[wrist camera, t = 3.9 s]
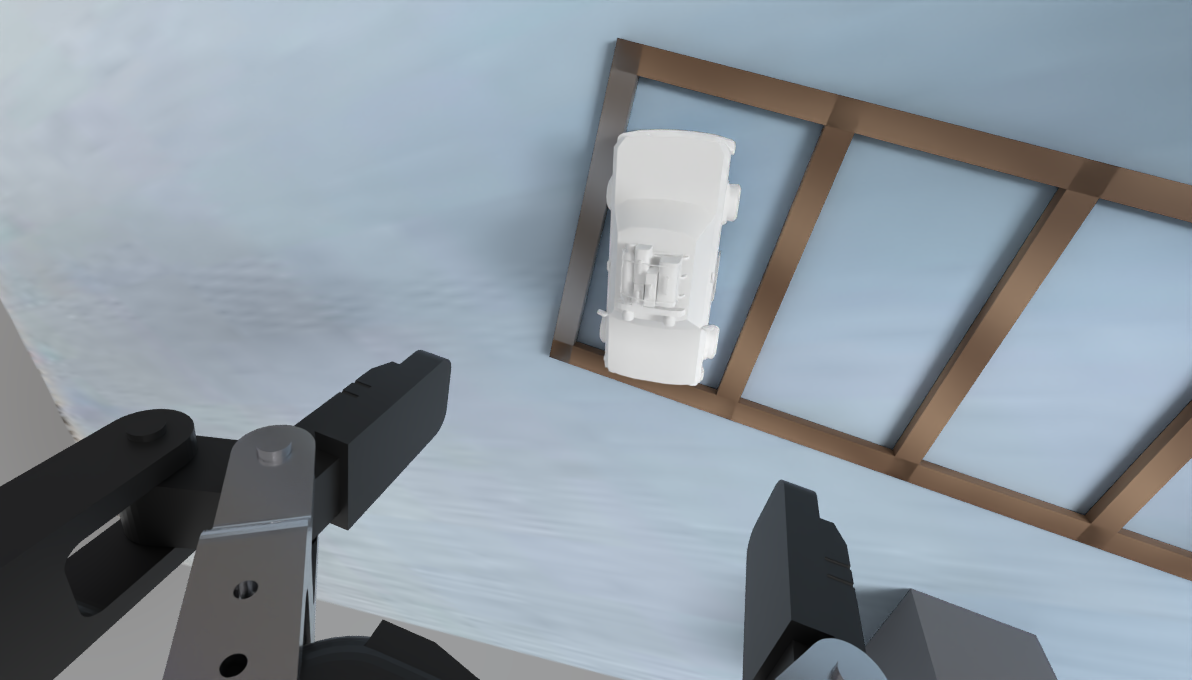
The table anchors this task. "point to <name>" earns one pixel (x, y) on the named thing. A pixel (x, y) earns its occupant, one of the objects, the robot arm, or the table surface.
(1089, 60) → the table surface
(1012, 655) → the die
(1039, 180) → the wooden ladder frame
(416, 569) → the table surface
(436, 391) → the robot arm
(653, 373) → the toy car
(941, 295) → the table surface
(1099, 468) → the table surface
